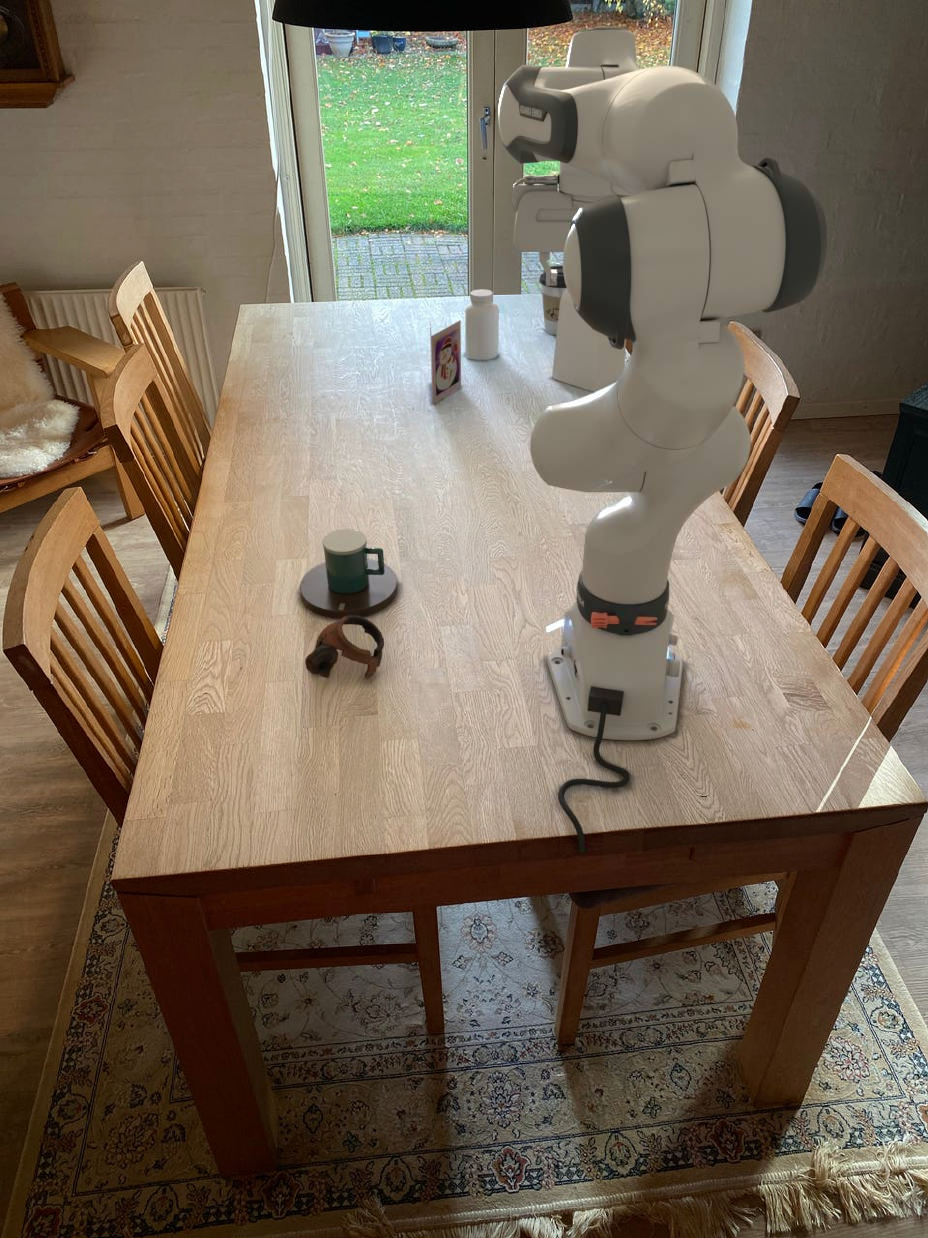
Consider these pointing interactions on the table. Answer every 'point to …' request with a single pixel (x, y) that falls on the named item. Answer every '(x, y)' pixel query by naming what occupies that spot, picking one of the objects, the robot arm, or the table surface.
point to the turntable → (340, 604)
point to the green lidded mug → (349, 560)
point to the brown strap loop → (344, 647)
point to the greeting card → (446, 361)
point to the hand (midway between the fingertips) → (585, 284)
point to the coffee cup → (552, 299)
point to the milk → (584, 352)
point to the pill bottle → (481, 326)
